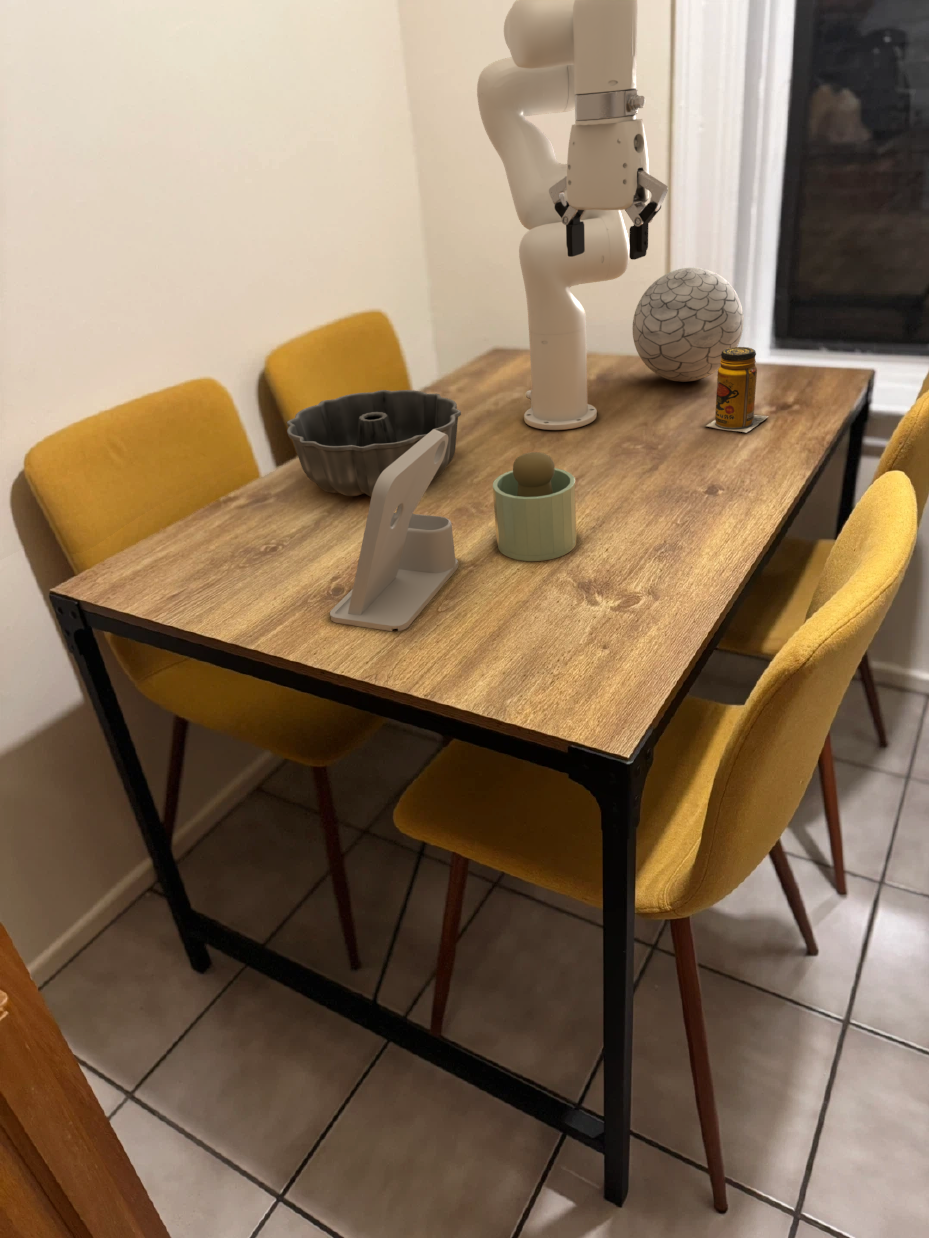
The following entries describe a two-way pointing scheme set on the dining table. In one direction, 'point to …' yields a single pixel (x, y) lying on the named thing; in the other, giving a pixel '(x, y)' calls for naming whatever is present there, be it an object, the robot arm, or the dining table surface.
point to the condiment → (736, 391)
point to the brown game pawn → (534, 474)
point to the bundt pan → (367, 435)
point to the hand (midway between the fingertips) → (606, 256)
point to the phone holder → (401, 545)
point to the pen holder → (535, 519)
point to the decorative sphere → (687, 324)
